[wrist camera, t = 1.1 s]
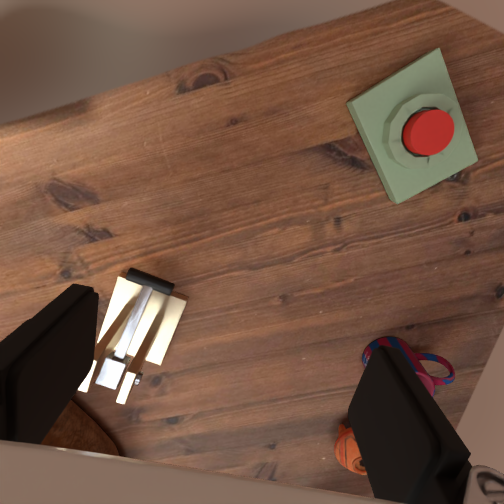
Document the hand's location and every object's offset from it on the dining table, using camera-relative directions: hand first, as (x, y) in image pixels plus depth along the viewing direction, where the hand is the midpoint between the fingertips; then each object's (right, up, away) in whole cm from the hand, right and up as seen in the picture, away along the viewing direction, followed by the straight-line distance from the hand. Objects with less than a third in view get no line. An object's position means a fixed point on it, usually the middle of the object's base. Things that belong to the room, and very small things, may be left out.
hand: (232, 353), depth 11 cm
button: (+17, +15, +21) cm, 31 cm away
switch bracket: (-14, -5, +33) cm, 36 cm away
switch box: (+17, +16, +25) cm, 34 cm away
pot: (+17, -24, +41) cm, 50 cm away
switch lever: (-12, -5, +26) cm, 29 cm away
